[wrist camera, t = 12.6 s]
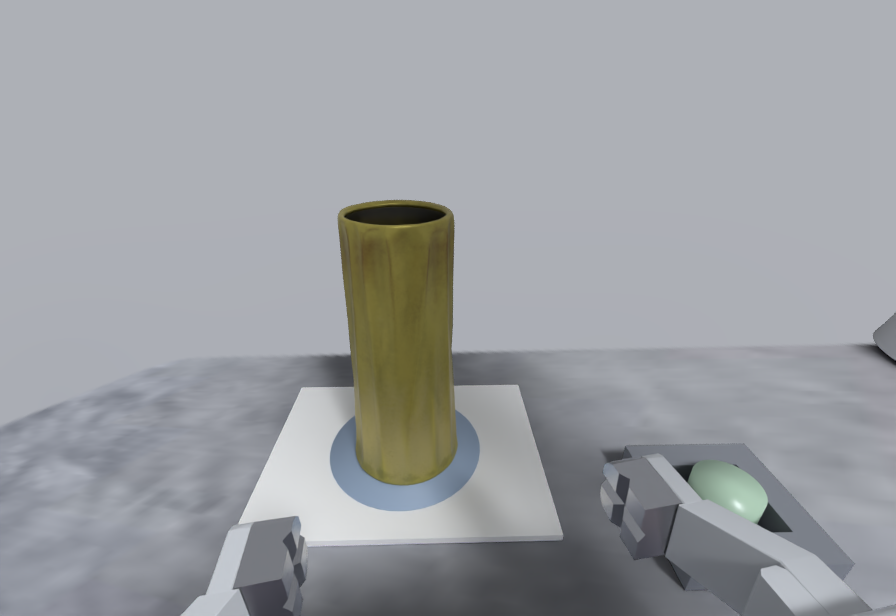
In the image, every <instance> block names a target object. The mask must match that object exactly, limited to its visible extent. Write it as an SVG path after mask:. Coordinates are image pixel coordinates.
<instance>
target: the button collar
mask: <svg viewBox="0 0 896 616" xmlns="http://www.w3.org/2000/svg"><path fill="white" fill-rule="evenodd" d="M657 453H659V454H660V455H662V456H663V457H664V458H665V459H666V460H667V461H668V462H669V463H670V464H671V465H672V467H673V468H674V469H675V470H676V471H677V472H678V473H679V474H680V475H681V477H682V478H683V479H684V480H685V481H686V482H688V479H689V476H690V474H691V471H692V468H693V466H694V465H695V464H696V463H698V462H699V461H703V460H718V461H722V462H726V463H729V464H732V465H734V466H736V467H738V468H740V469H742V470H743V471H745V472H747V473H748V474H749V475H751V476H752V477H753V478H754V479H755V480H757V481H758V483H759V484H760V485H761V486H762V487H763V489H764V490H765V492H766V495H767V498H768V503H767V506H766V508H765V510H764V512H763V514H762V516H761V518H760V520H759V522H758V525H759V526H760V527H762V528H764V529H766V530H768V531H770V532H772V533H774V534H776V535H778V536H780V537H782V538H784V539H786V540H788V541H789V542H791V543H793V544H795V545H797V546H799V547H801V548H803V549H805V550H807V551H809V552H811V553H813V554H815V555H816V556H817V557H818V558H819V559H820V560H822V561H823V562H824V563H825V564H826V565H827V566H828V567H829V568H830V569H831V570H832V571H833V572H834V573H835V574H836V575H837V576H838V577H839V578H840V579H841V580H842V581H843V580H844V578H845V577H846V575H847V574H848V573H849V571H850V570H851V568H852V567H853V566H854V564H855V563H854V562H853V561H852V560H851V559H850V558H849V557H848V556H847V555H846V554H845V552H844V551H843V550H842V549H841V548H840V547H839V546H838V545H837V544H836V543H835V542H834V541H833V539H832V538H831V537H830V536H829V535H828V534H827V533H826V532H825V531H824V530H823V529H822V527H821V526H820V525H819V524H818V523H817V522H816V521H815V520H814V519H813V518H812V517H811V516H810V514H809V513H808V512H807V511H806V510H805V509H804V508H803V507H802V506H801V505H800V504H799V502H798V501H797V500H796V499H795V498H794V497H793V496H792V495H791V494H790V493H789V492H788V491H787V489H786V488H785V487H784V486H783V485H782V484H781V483H780V482H779V481H778V480H777V479H776V477H775V476H774V475H773V474H772V473H771V472H770V471H769V470H768V469H767V468H766V467H765V466H764V464H763V463H762V462H761V461H760V460H759V459H758V458H757V457H756V456H755V455H754V454H753V452H752V451H751V450H750V449H749V448H748V447H747V446H746V445H745V444H744V443H743V444H685V445H627V446H625V450H624V454H623V457H622V459H627V458H633V457H638V456H639V457H641V456H645V455H651V454H657ZM669 561H670V560H669ZM670 563H671V564H672V566H673V568H674V570H675V572H676V574H677V576H678V578H679V580H680V582H681V584H682V586H683V588H684V590H708V589H706V588H705V587H704V586H702V585H701V584H700V583H699V582H697V581H696V580H695V579H693V578H692V577H691V576H689V575H688V574H687V573H686V572H684V571H683V570H682V569H680V568H679V567H678V566H677V565H675V564H674V563H673V562H671V561H670Z"/></svg>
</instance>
